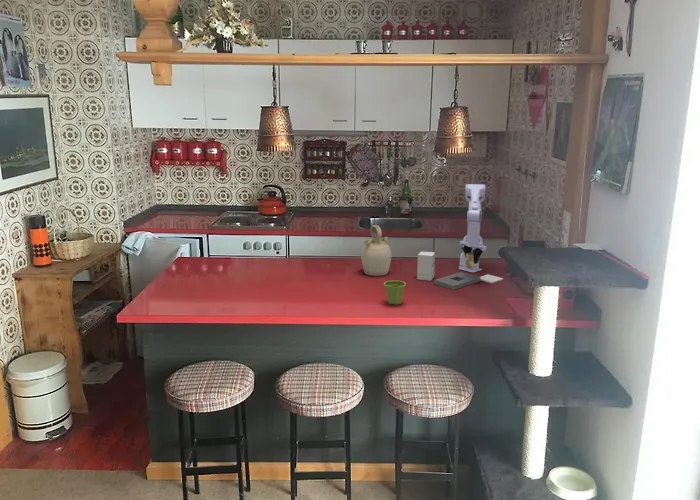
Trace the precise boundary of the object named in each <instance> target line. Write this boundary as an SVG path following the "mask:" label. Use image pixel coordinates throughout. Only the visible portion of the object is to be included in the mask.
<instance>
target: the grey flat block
mask: <svg viewBox="0 0 700 500" xmlns="http://www.w3.org/2000/svg"><path fill="white" fill-rule="evenodd" d="M481 281H482V280H481V276H477V275H473V274H470V273H467V272H462V271H460V272H455V273H453V274H450V275H446V276H443V277H440V278H436V279H434V280H433V284H434V285H436V286H440V287H442V288H445V289H448V290H452V291H455V290H458V289H461V288H464V287H467V286H470V285H474V284H477V283H480V282H481Z"/></svg>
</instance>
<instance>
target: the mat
mask: <svg viewBox="0 0 700 500" xmlns="http://www.w3.org/2000/svg"><path fill="white" fill-rule="evenodd" d="M480 277H481V280H480V281H481V282H485V283H489V284H494V283H496V282H497V283H498V282H500V281H503V280H504V278H503V277H499V276H496V275H492V274H485V275H482V276H480Z"/></svg>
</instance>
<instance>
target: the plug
mask: <svg viewBox="0 0 700 500" xmlns="http://www.w3.org/2000/svg"><path fill="white" fill-rule="evenodd" d="M466 268H469V269H475V268H478V263H476V264H474V254H473V252H470V253H466Z"/></svg>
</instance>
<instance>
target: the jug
mask: <svg viewBox="0 0 700 500" xmlns="http://www.w3.org/2000/svg"><path fill="white" fill-rule="evenodd" d="M376 233H377V234H376ZM382 235H383V233H382V229H381V227H380V226H379V225H378V224H373V225H372V226H371V228H370V236H371V238H372V240H371V239H370V238H366V239H364V240H363V246H362V249H361V253H360V258H361V264H362V268H363V273H364V274H366V275H368V276H372V277H379V276H380V277H382V276H385V275H387V274H388V273H389V270H390V265H391V262H392V261H391V260H392V249H391V248H390V246H389V244H387V242H388V236H385V237H384V238H382ZM381 238H382V240H381Z"/></svg>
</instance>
